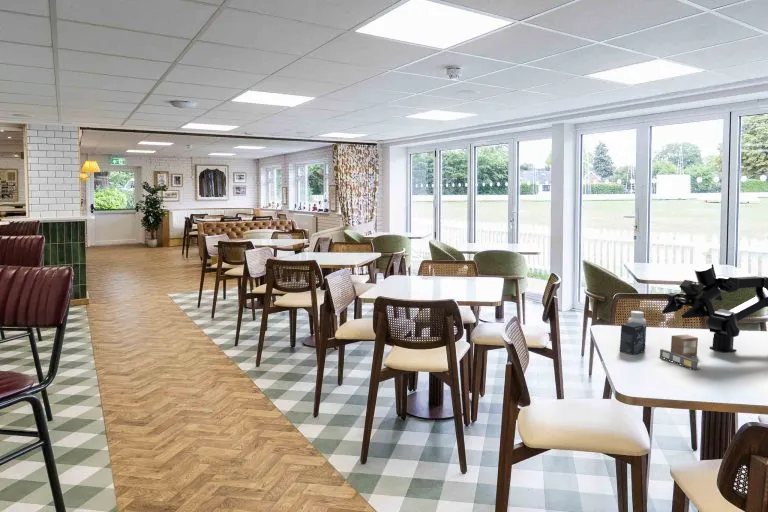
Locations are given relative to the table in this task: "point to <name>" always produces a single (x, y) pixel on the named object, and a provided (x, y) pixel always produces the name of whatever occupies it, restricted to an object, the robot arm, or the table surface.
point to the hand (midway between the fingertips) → (672, 314)
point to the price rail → (679, 359)
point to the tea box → (684, 345)
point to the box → (633, 338)
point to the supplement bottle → (637, 317)
